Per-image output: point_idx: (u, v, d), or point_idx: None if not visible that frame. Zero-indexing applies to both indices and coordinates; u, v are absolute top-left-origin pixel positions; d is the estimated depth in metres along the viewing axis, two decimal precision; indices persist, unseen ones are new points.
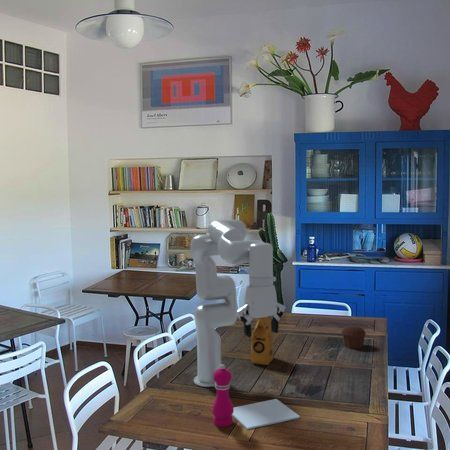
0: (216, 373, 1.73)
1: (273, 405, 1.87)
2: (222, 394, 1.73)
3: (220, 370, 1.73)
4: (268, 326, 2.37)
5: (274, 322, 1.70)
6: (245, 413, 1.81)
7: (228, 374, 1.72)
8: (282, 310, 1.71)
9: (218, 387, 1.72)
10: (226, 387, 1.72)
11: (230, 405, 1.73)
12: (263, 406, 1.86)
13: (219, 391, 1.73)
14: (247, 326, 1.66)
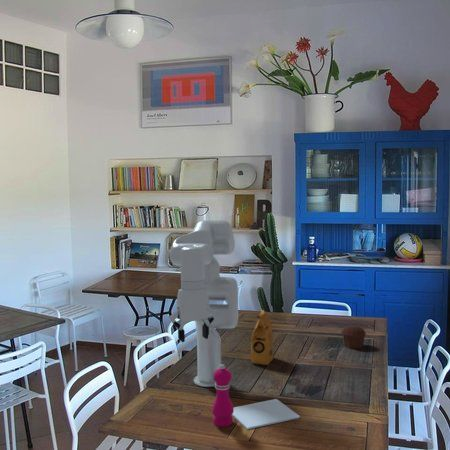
0: (216, 373, 1.73)
1: (273, 405, 1.87)
2: (222, 394, 1.73)
3: (220, 370, 1.73)
4: (268, 326, 2.37)
5: (204, 328, 1.70)
6: (245, 413, 1.81)
7: (228, 374, 1.72)
8: (213, 316, 1.71)
9: (218, 387, 1.72)
10: (226, 387, 1.72)
11: (230, 405, 1.73)
12: (263, 406, 1.86)
13: (219, 391, 1.73)
14: (181, 331, 1.66)
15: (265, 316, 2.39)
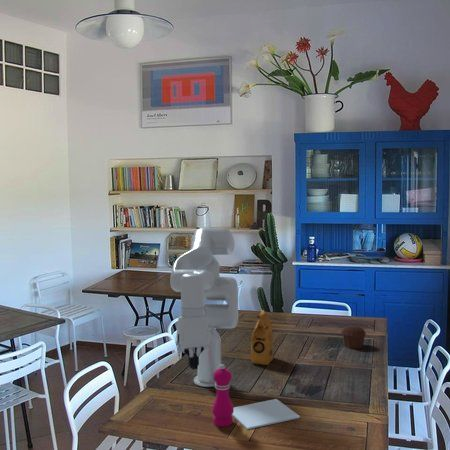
0: (216, 373, 1.73)
1: (273, 405, 1.87)
2: (222, 394, 1.73)
3: (220, 370, 1.73)
4: (268, 326, 2.37)
5: None
6: (245, 413, 1.81)
7: (228, 374, 1.72)
8: (204, 347, 1.70)
9: (218, 387, 1.72)
10: (226, 387, 1.72)
11: (230, 405, 1.73)
12: (263, 406, 1.86)
13: (219, 391, 1.73)
14: (191, 359, 1.68)
15: (265, 316, 2.39)
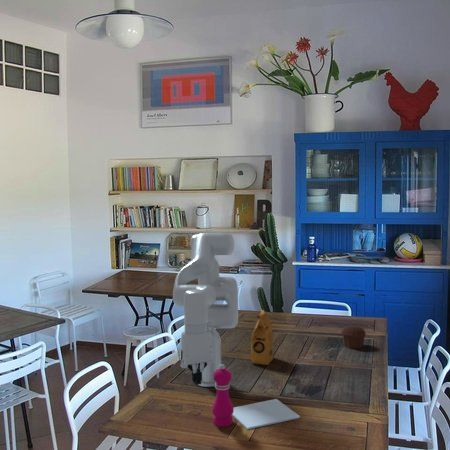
0: (216, 373, 1.73)
1: (273, 405, 1.87)
2: (222, 394, 1.73)
3: (220, 370, 1.73)
4: (268, 326, 2.37)
5: None
6: (245, 413, 1.81)
7: (228, 374, 1.72)
8: (207, 363, 1.71)
9: (218, 387, 1.72)
10: (226, 387, 1.72)
11: (230, 405, 1.73)
12: (263, 406, 1.86)
13: (219, 391, 1.73)
14: (194, 374, 1.69)
15: (265, 316, 2.39)
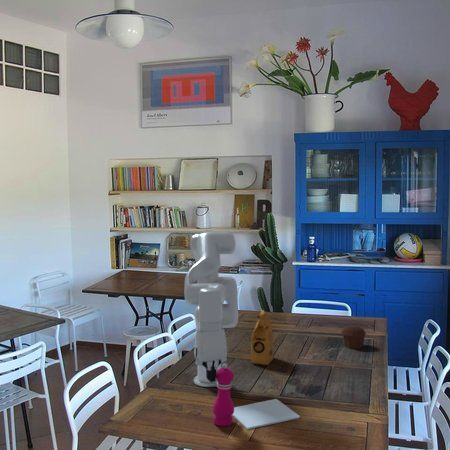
0: (218, 372, 1.73)
1: (273, 405, 1.87)
2: (223, 394, 1.73)
3: (222, 369, 1.73)
4: (268, 326, 2.37)
5: None
6: (245, 413, 1.81)
7: (230, 374, 1.73)
8: (222, 360, 1.73)
9: (220, 386, 1.73)
10: (228, 386, 1.73)
11: (231, 405, 1.73)
12: (263, 406, 1.86)
13: (221, 390, 1.73)
14: (209, 371, 1.71)
15: (265, 316, 2.39)
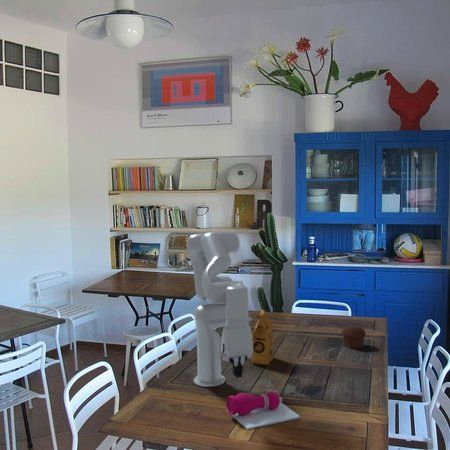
0: None
1: None
2: (259, 399, 1.81)
3: None
4: (268, 326, 2.37)
5: None
6: None
7: (278, 402, 1.82)
8: (248, 356, 1.77)
9: (264, 395, 1.83)
10: (267, 401, 1.81)
11: (251, 407, 1.78)
12: None
13: (261, 396, 1.82)
14: (235, 367, 1.75)
15: (265, 316, 2.39)
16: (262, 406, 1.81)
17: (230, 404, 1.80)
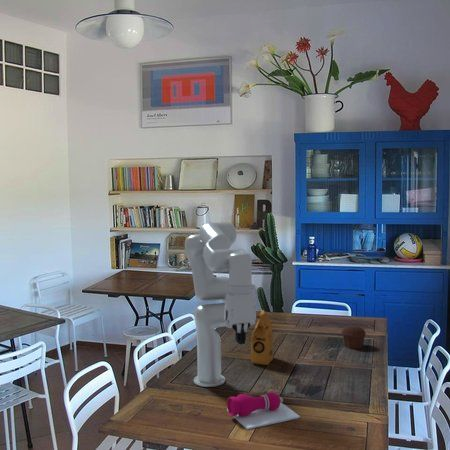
0: None
1: None
2: (260, 400, 1.80)
3: None
4: (268, 326, 2.37)
5: None
6: None
7: (279, 404, 1.82)
8: (251, 323, 1.77)
9: (265, 396, 1.82)
10: (267, 403, 1.80)
11: (251, 409, 1.77)
12: None
13: (262, 397, 1.81)
14: (238, 334, 1.75)
15: (265, 316, 2.39)
16: (262, 407, 1.81)
17: (230, 404, 1.79)
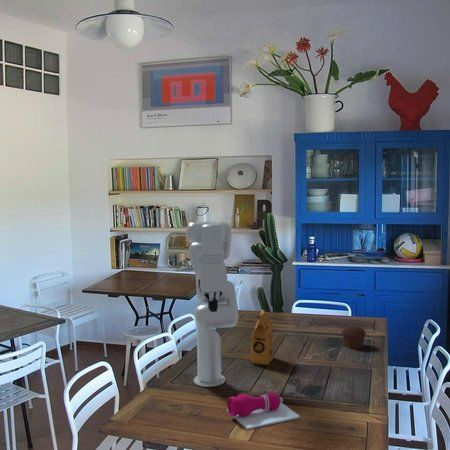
0: None
1: None
2: (260, 400, 1.80)
3: None
4: (268, 326, 2.37)
5: None
6: None
7: (279, 404, 1.82)
8: (223, 292, 1.85)
9: (265, 396, 1.82)
10: (267, 403, 1.80)
11: (251, 410, 1.77)
12: None
13: (262, 398, 1.81)
14: (211, 302, 1.83)
15: (265, 316, 2.39)
16: (262, 407, 1.81)
17: (230, 404, 1.79)
